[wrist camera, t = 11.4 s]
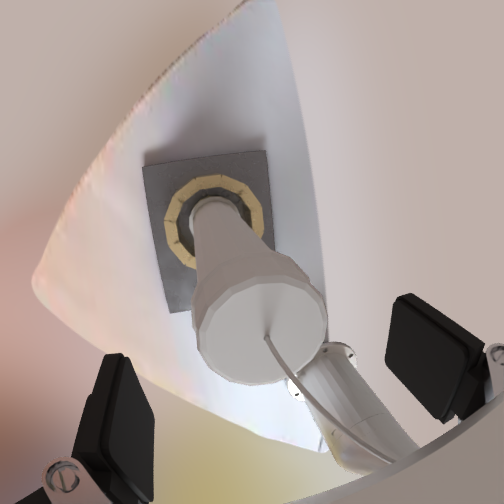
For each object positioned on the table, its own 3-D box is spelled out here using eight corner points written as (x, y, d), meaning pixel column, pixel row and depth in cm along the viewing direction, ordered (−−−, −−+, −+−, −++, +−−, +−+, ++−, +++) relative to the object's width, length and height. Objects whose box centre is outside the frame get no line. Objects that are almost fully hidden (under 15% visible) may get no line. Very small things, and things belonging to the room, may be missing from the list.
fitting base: (275, 289, 39) (287, 308, 34) (170, 308, 37) (168, 330, 32) (262, 150, 34) (275, 148, 29) (144, 167, 31) (135, 167, 26)
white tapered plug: (206, 184, 32) (327, 336, 4) (251, 214, 34) (459, 401, 6) (179, 225, 33) (163, 496, 5) (224, 253, 35) (336, 508, 7)
